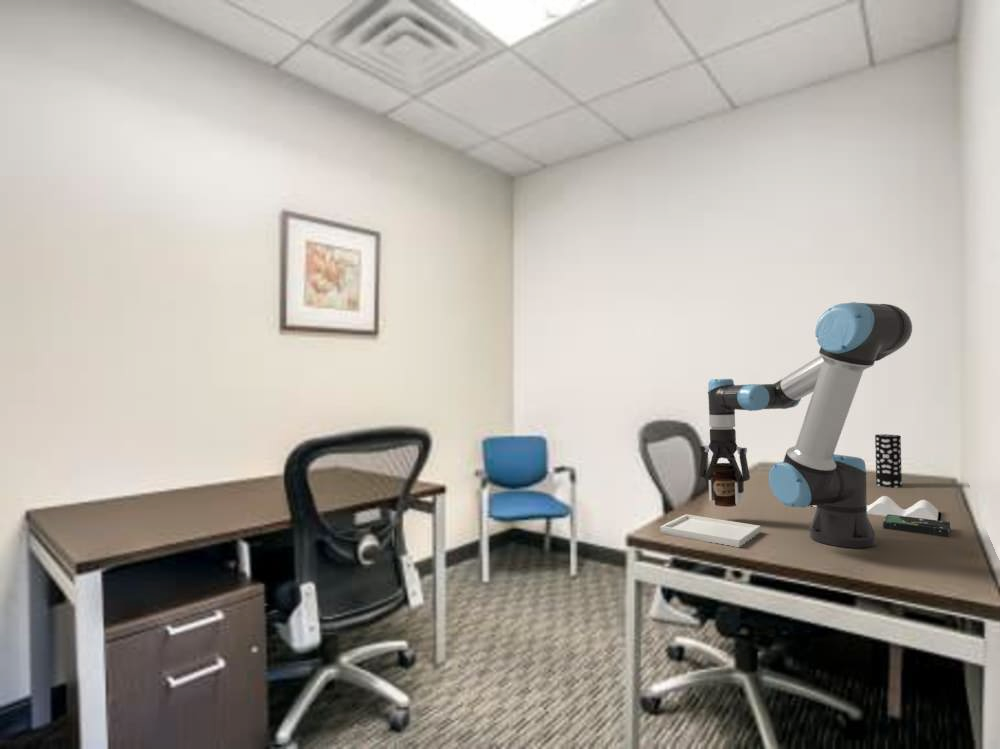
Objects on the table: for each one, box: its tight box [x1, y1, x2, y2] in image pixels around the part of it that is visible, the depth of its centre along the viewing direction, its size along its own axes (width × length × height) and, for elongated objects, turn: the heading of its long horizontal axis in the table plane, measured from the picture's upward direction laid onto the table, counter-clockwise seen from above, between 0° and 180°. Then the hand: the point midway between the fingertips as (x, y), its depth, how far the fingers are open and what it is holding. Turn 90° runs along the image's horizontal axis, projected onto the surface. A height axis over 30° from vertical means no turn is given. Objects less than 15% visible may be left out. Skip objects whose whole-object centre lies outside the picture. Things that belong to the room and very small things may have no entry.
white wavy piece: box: [812, 495, 942, 521], centre depth 180 cm, size 13×35×5 cm, turn 50°
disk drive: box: [882, 514, 951, 538], centre depth 158 cm, size 10×3×15 cm
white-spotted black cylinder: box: [874, 433, 903, 489], centre depth 219 cm, size 8×8×20 cm
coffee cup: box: [710, 462, 738, 508], centre depth 171 cm, size 9×8×13 cm
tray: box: [659, 513, 762, 548], centre depth 158 cm, size 22×18×2 cm
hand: (725, 501), depth 171 cm, fingers closed on coffee cup, 7 cm apart
